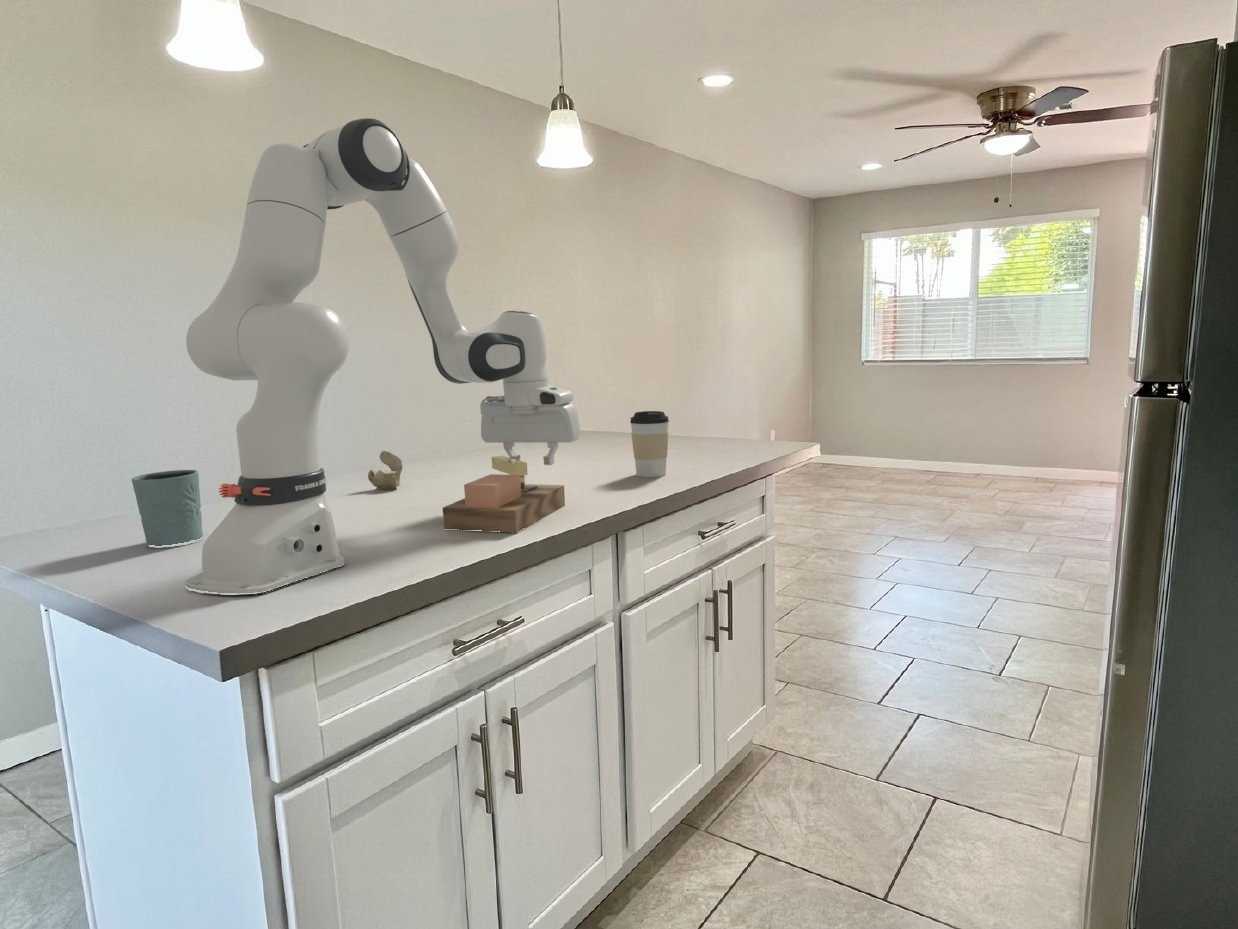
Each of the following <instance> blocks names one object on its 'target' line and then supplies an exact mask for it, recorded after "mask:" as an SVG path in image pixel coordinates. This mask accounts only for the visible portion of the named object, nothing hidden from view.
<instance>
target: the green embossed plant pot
mask: <svg viewBox="0 0 1238 929" xmlns="http://www.w3.org/2000/svg"><path fill="white" fill-rule="evenodd" d="M199 476H200V475H199V471H198V470H197V469H180V470H178V469H177V470H176V469H175V470H168V471H167V470H166V471H165V470H164V471H158V472H151V473H145V474H140V475H136V476H134V477H132V478H131V482H132V487H133V491H134V494H135V499H136V504H137V507H138V511H139V512H138V513H139V515H140V518H141V519H140V520H141V525H142V528H143V533H144V536H145V537H144V538H145V541H146V542H145V543H146V545H147V544H148V545H155V546H162V545H172V544H178V543H184V542H189V541H191V540H197V539H200V538H201V537H202V536H203V537H204V535H203V520H202V510H201V508H202V507H201V506H202V504H201V491H200V490H201V489H200V477H199Z"/></svg>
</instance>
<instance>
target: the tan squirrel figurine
mask: <svg viewBox="0 0 1238 929" xmlns="http://www.w3.org/2000/svg"><path fill="white" fill-rule="evenodd" d="M378 457H379V460H380V461H381V463H383V464H384V465H386V466H388V468H389V469H390V470H387V469H379V470H377V471H376V470H374V469H373V468H371V469H370V470H369V471H368V474H367V478H368V481H369V482H370V483H371V484H372V485H373V487H376V488H375V489H374V490H375V491H382V490H396V491H397V490H398V487H400V481H401V474H402V471H403V468H404V467H403V461H402V459H401V458H400V457H399V456H397V455H396V454H394V453H393V452H390V451H387V450H382V451H381V452H380V453H379V456H378Z"/></svg>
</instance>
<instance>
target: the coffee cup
mask: <svg viewBox="0 0 1238 929" xmlns="http://www.w3.org/2000/svg"><path fill="white" fill-rule="evenodd" d="M629 422H630V426H631V442H632V443H631V444H632V451H633V457H634V463H635V464H634V465H635V471H636V476H637V477H639V478H659V477H664V476H666V473H667V458H668V449H669V448H668V447H669V446H668V444H669V422H670V420H669V416H668V415H666V413H665V412H664V411H662V410H660V411H659V410H650V411H649V410H644V411H638V412H634V414H633V416H631V417H630V421H629Z"/></svg>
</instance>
